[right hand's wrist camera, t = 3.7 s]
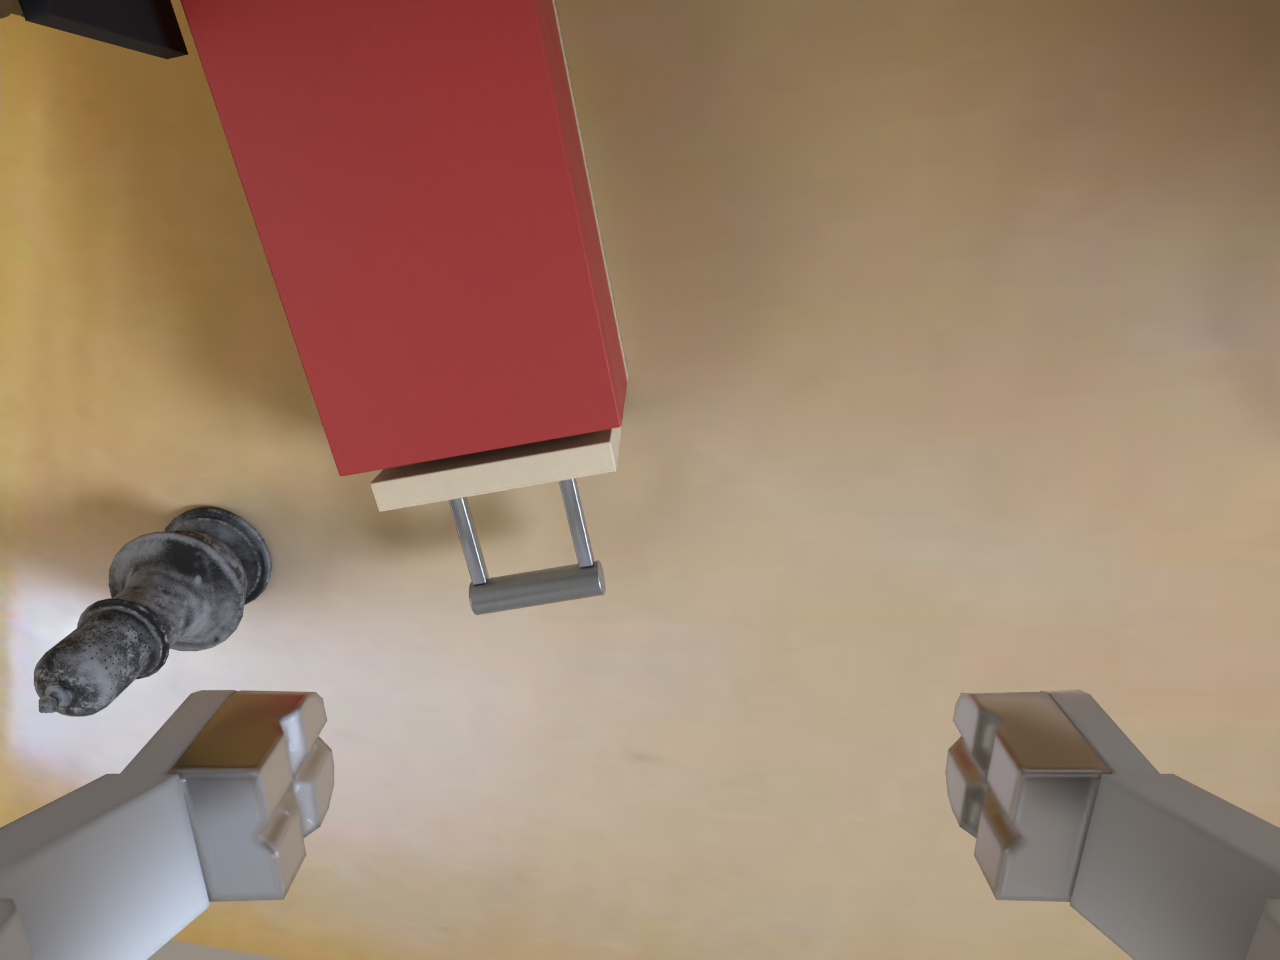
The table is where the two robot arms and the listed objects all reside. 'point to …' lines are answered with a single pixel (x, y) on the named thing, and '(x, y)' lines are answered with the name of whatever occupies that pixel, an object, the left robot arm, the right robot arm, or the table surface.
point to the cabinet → (422, 218)
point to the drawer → (505, 473)
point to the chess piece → (156, 609)
